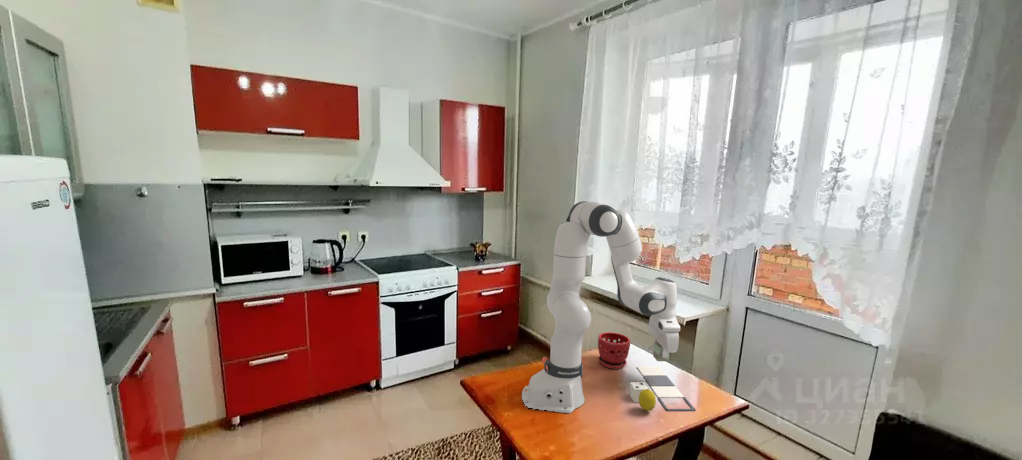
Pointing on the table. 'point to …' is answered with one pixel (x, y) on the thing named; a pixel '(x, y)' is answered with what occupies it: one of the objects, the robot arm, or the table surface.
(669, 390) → the board
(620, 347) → the plant pot
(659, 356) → the pawn
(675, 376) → the table surface
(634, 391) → the die
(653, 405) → the lemon
